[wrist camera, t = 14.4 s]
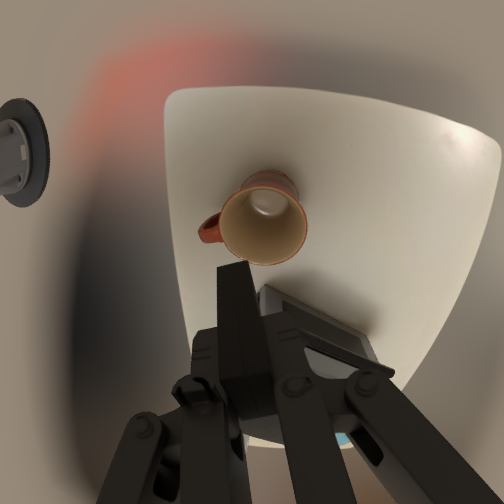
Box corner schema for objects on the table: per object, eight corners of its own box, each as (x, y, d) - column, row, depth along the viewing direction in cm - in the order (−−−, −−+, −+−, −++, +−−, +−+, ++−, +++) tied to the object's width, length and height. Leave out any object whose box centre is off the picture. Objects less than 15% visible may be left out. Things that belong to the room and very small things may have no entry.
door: (275, 267, 42) (281, 330, 28) (377, 322, 46) (409, 383, 31) (259, 291, 44) (258, 359, 29) (361, 341, 47) (386, 404, 33)
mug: (293, 155, 33) (295, 175, 24) (309, 217, 37) (315, 257, 28) (205, 178, 36) (177, 206, 27) (226, 235, 40) (208, 277, 31)
